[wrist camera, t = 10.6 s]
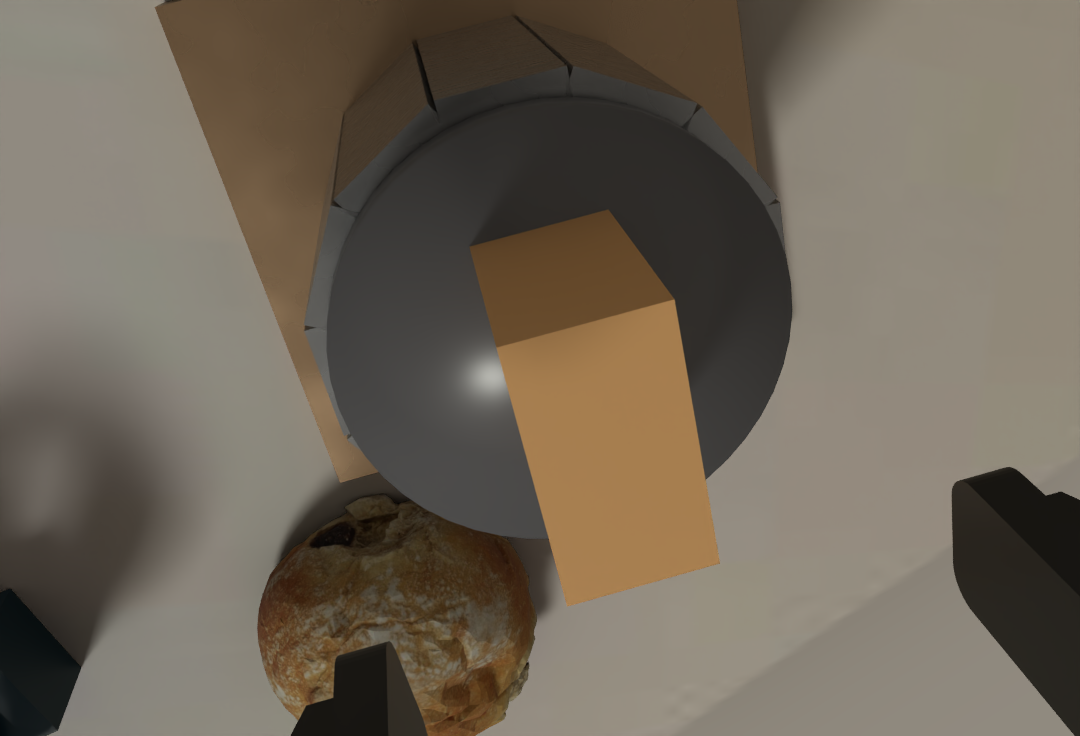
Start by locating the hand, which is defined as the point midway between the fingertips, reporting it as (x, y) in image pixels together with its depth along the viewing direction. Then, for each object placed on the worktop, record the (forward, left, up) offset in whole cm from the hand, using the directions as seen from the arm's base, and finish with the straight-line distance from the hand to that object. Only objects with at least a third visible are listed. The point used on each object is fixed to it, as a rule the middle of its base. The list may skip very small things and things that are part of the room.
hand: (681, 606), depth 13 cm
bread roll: (+15, -8, -21) cm, 26 cm away
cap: (0, 0, -12) cm, 12 cm away
